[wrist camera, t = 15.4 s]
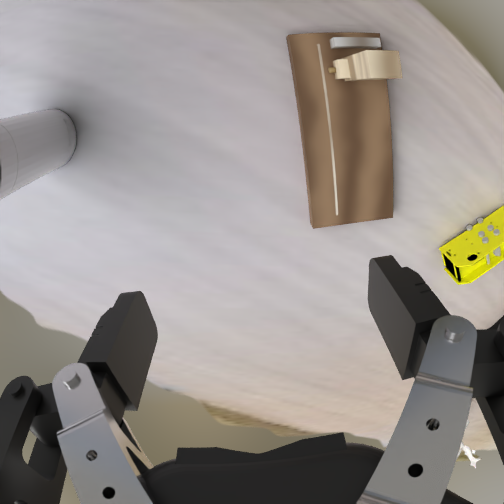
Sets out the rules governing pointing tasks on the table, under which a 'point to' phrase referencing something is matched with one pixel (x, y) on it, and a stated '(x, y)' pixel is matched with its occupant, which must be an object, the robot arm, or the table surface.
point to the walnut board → (342, 131)
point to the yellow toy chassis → (475, 249)
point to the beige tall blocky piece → (368, 66)
